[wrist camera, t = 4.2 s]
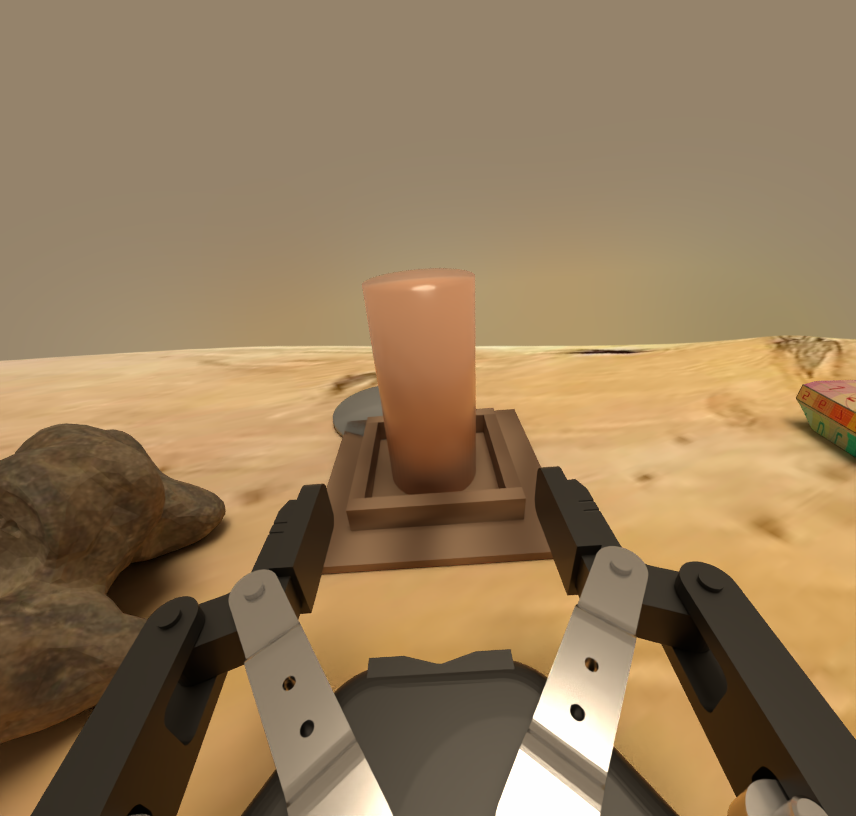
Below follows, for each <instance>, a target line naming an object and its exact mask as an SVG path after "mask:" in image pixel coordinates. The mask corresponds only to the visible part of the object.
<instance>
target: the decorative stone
mask: <svg viewBox="0 0 856 816" xmlns="http://www.w3.org/2000/svg"><path fill="white" fill-rule="evenodd" d="M224 515H225V505H224V502H223V501H222V500H221V499H220V498H219V497H218V496H217V495H215V494H214V493H212V492H210V491H208V490H206V489H203V488H200V487H198V486H195V485H192V484H188V483H185V482H181V481H178V480H174V479H172V478H170V477H168V476H166V475H165V474H163V473H162V472H161V471H160V470H159V469H158V467H157V466H156V465H155V464H154V462H153V461H152V460H151V458H150V457H149V456H148V454H147V453H146V451H145V450H144V448H143V447H142V446H141V444H140V443H139V442H137V441H136V440H135V439H134V438H133V437H132V436H131V435H129V434H127V433H125V432H123V431H118V430H114V429H113V430H103V429H99V428H95V427H91V426H88V425H79V424H59V425H54V426H51V427H48V428H45V429H42V430H40V431H39V432H37V433H36V434H35V435H33V436H32V437H30V438H29V439H28V440H26V441H25V442H24V443H23V444H22V445H21V447H20V448H19V449H18V450H17V451H16V452H15V454H14V455H12V456H9V457H7V458H5V459H3V460H0V744H1V743H3V742H6V741H9V740H12V739H15V738H18V737H22V736H25V735H28V734H32V733H35V732H38V731H41V730H44V729H46V728H48V727H51V726H53V725H55V724H58V723H60V722H62V721H65V720H67V719H69V718H71V717H73V716H75V715H77V714H79V713H80V712H83V711H85V710H87V709H89V708H91V707H93V706H95V705H97V703H98V702H99V700H100V698H101V697H102V695H103V693H104V692H105V690H106V688H107V687H108V685H109V683H110V681H111V680H112V678H113V676H114V675H115V673H116V671H117V670H118V668H119V666H120V665H121V663H122V661H123V660H124V658H125V656H126V655H127V653H128V651H129V650H130V648H131V646H132V645H133V643H134V641H135V639H136V638H137V636H138V634H139V633H140V631H141V629H142V628H143V626H144V624H145V623H146V621H147V619H144V618H140V617H136V616H132V615H128V614H124V613H122V611H121V610H120V609H119V608H118V606H117V605H116V604H115V603H114V602H113V601H112V600H111V599H110V598H109V597H108V596H107V595H106V594H107V592H108V590H109V588H110V586H111V585H112V583H113V582H114V580H115V579H116V577H117V576H118V575H119V573H120V572H121V571H123V570H124V569H125V568H126V567H128V566H129V564H130V563H133V562H140V561H146V560H149V559H152V558H155V557H158V556H161V555H164V554H166V553H169V552H172V551H175V550H177V549H180V548H183V547H186V546H188V545H190V544H192V543H195V542H197V541H199V540H200V539H202V538H204V537H206V536H207V535H208V534H209V533H210V532H211V531H212V530H213V529H214V528H215V527H216V526H217V525H218V524H219V523H220V522H221V520H222V519H223V517H224Z"/></svg>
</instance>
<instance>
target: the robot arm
mask: <svg viewBox="0 0 856 816" xmlns="http://www.w3.org/2000/svg"><path fill="white" fill-rule="evenodd" d="M535 509H536V513H537V516H538V519H539V522H540V524H541V527H542V530H543V532H544V535H545V537H546V540H547V543H548V545H549V548H550V551H551V553H552V556H553V559H554V561H555V564H556V567H557V569H558V572H559V574H560V577H561V580H562V582H563V585H564V588H565V590H566V593H567V595H579V598H580V600H579V602H578V604H577V605H576V606H575V608H574V610H573V613H572V615H571V618H570V621H569V623H568V626H567V629H566V631H565V634H564V637H563V639H562V642H561V645H560V647H559V650H558V653H557V655H556V658H555V661H554V663H553V666H552V668H551V671H550V674H549V676H548V678H547V677H546V676H544V675H543V674H542V673H540V672H539V671H537V670H535V669H533V668H531V667H529V666H527V665H525V664H522V663H519V662H515V661H513V659H512V654H511V649H507V650H491V651H476V652H473V653H470V654H467V655H465V656H462V657H459V658H457V659H454V660H451V661H448V662H446V663H442V664H436V663H431V662H427V661H423V660H419V659H414V658H410V657H406V656H396V657H380V658H369V664H368V670H367V671H364V672H362V673H360V674H358V675H356V676H354V677H353V678H351V679H350V680H348V681H347V682H346V683H344V684H343V685H342V686H341V687H340V688H339V689H338V690H337V691H336V692H335V693H333V691H332V689H331V686H330V684H329V682H328V680H327V678H326V676H325V674H324V672H323V670H322V668H321V666H320V664H319V662H318V659H317V657H316V655H315V653H314V651H313V649H312V647H311V645H310V643H309V641H308V639H307V637H306V635H305V633H304V630H303V628H302V626H301V624H300V623H299V621H298V619H299V616H300V614H306V613H312V609H313V605H314V601H315V597H316V593H317V590H318V586H319V582H320V578H321V574H322V571H323V567H324V563H325V559H326V555H327V552H328V548H329V544H330V540H331V536H332V533H333V528H334V514H333V510H332V506H331V503H330V499H329V496H328V492H327V488H326V486H325V484H313V485H304V486H303V487H302V488H301V491H300V493H299V496H298V498H297V500H289V501H288V502H287V503H286V504H285V505H284V506H283V507H282V508H281V509H280V511H279V512H278V515H277V517H276V519H275V521H274V525H273V526H272V528H271V530H270V532H269V533H270V534H269V535H268V537H267V539H266V541H265V543H264V545H263V548H262V550H261V552H260V554H259V556H258V559H257V561H256V563H255V565H254V567H253V570H252V572H251V573H249V574H247V575H246V576H244V577H243V578H242V579H240V580H239V581H238V582H237V583H236V584H235V586H234V587H233V589H232V590H231V592H230V593H228V594H226V595H223V596H221V597H218V598H215V599H212V600H210V601H207V602H204V603H201V604H198V603H197V601H196V600H195V599H194V598H192V597H188V596H183V597H178V598H175V599H173V600H170V601H169V602H167V603H165V604H163V605H162V606H161V607H159V608H158V609H157V610H156V611H155V612H154V613H153V614H152V615H151V616H150V617H149V618H148V620H147V621H146V623H145V624H144V626H143V628H142V629H141V631H140V633H139V634H138V636H137V638H136V639H135V641H134V643H133V645H132V646H131V648H130V650H129V651H128V653H127V655H126V656H125V658H124V660H123V661H122V663H121V665H120V666H119V668H118V670H117V671H116V673H115V675H114V676H113V678H112V680H111V681H110V683H109V685H108V687H107V688H106V690H105V692H104V693H103V695H102V697H101V698H100V700H99V702H98V703H97V705H96V707H95V708H94V710H93V712H92V713H91V715H90V717H89V718H88V720H87V722H86V724H85V725H84V727H83V729H82V730H81V732H80V734H79V735H78V737H77V739H76V740H75V742H74V744H73V745H72V747H71V749H70V750H69V752H68V754H67V755H66V757H65V759H64V760H63V762H62V764H61V766H60V767H59V769H58V771H57V772H56V774H55V776H54V777H53V779H52V781H51V782H50V784H49V786H48V787H47V789H46V791H45V792H44V794H43V796H42V797H41V799H40V801H39V802H38V804H37V806H36V808H35V809H34V811H33V813H32V814H31V816H176V815H177V813H178V810H179V807H180V804H181V801H182V799H183V796H184V793H185V790H186V787H187V785H188V782H189V779H190V776H191V773H192V771H193V768H194V765H195V762H196V759H197V756H198V754H199V751H200V748H201V745H202V742H203V740H204V737H205V734H206V731H207V728H208V726H209V723H210V720H211V717H212V714H213V712H214V709H215V706H216V703H217V700H218V698H219V695H220V692H221V689H222V686H223V683H224V681H225V678H226V675H227V672H228V671H230V670H232V669H234V668H237V667H239V666H242V665H245V669H246V672H247V675H248V679H249V682H250V685H251V688H252V692H253V695H254V698H255V701H256V705H257V708H258V711H259V714H260V718H261V721H262V724H263V727H264V731H265V734H266V737H267V740H268V743H269V747H270V750H271V753H272V756H273V760H274V763H275V766H276V770H275V771H274V772H273V774H272V775H271V776H270V778H269V779H268V780H267V782H266V783H265V784H264V786H263V787H262V788H261V790H260V791H259V792H258V794H257V795H256V796H255V798H254V799H253V800H252V802H251V803H250V804H249V806H248V807H247V808H246V810H245V811H244V812H243V814H242V815H241V816H679V815H678V814H677V813H676V812H675V811H674V810H673V809H672V808H671V807H670V806H669V805H668V803H667V802H666V801H665V800H664V799H663V798H662V797H661V796H660V795H659V794H658V793H657V792H656V791H655V790H654V789H653V788H652V787H651V785H650V784H649V783H648V782H647V781H646V780H645V779H644V778H643V777H642V776H641V775H640V774H639V773H638V772H637V771H636V770H635V769H634V768H633V766H632V765H631V764H630V763H629V762H628V761H627V760H626V759H625V758H624V757H623V756H622V755H621V754H620V753H619V752H618V751H617V749H616V748H615V747H614V746H613V744H614V740H615V735H616V731H617V726H618V722H619V717H620V712H621V708H622V703H623V699H624V694H625V689H626V685H627V680H628V676H629V671H630V666H631V662H632V657H633V653H634V648H635V643H636V637H638V638H641V639H645V640H649V641H653V642H656V643H660V644H662V646H663V648H664V650H665V652H666V654H667V657H668V659H669V661H670V663H671V665H672V667H673V669H674V671H675V673H676V675H677V677H678V679H679V681H680V683H681V685H682V687H683V689H684V691H685V693H686V695H687V697H688V699H689V701H690V703H691V705H692V707H693V710H694V712H695V714H696V716H697V718H698V720H699V722H700V724H701V726H702V728H703V730H704V732H705V734H706V736H707V738H708V740H709V742H710V744H711V746H712V748H713V750H714V752H715V754H716V756H717V758H718V760H719V763H720V765H721V767H722V769H723V771H724V773H725V775H726V777H727V779H728V781H729V783H730V785H731V787H732V789H733V791H734V793H735V795H736V797H737V798H736V799H734V800H733V801H732V803H731V804H730V806H729V809H728V814H727V816H856V739H855V738H854V737H853V736H852V734H851V733H850V732H849V730H848V729H847V728H846V726H845V725H844V724H843V722H842V721H841V720H840V719H839V717H838V716H837V715H836V713H835V712H834V711H833V709H832V708H831V707H830V705H829V704H828V703H827V702H826V700H825V699H824V698H823V696H822V695H821V694H820V692H819V691H818V690H817V688H816V687H815V686H814V685H813V683H812V682H811V681H810V679H809V678H808V677H807V675H806V674H805V673H804V671H803V670H802V669H801V668H800V666H799V665H798V664H797V662H796V661H795V660H794V658H793V657H792V656H791V654H790V653H789V652H788V651H787V649H786V648H785V647H784V645H783V644H782V643H781V641H780V640H779V639H778V637H777V636H776V635H775V633H774V632H773V631H772V630H771V628H770V627H769V626H768V624H767V623H766V622H765V620H764V619H763V618H762V616H761V615H760V614H759V613H758V611H757V610H756V609H755V607H754V606H753V605H752V603H751V602H750V601H749V599H748V598H747V597H746V596H745V594H744V593H743V592H742V590H741V589H740V588H739V586H738V585H737V584H736V583H735V581H734V580H733V579H732V578H731V577H730V576H729V575H727V574H726V573H725V572H723V571H722V570H720V569H718V568H717V567H715V566H712V565H710V564H707V563H703V562H688V563H685V564H684V565H683V566H682V567H681V568H680V571H679V572H678V571H673V570H668V569H663V568H659V567H654V566H650V565H647V564H645V563H644V562H643V561H642V560H641V559H640V558H639V557H638V556H637V555H636V554H634V553H633V552H631V551H629V550H627V549H625V548H622V547H621V545H620V544H619V542H618V541H617V539H616V537H615V535H614V534H613V532H612V530H611V529H610V527H609V525H608V524H607V522H606V520H605V518H604V517H603V515H602V513H601V512H600V511H599V508H598V507H597V505H596V503H595V502H594V501H593V498H592V496H591V495H590V493H589V491H588V490H587V488H586V487H584V486H583V485H582V484H581V483H579V482H578V481H577V480H576V479H572V480H567V479H566V477H565V475H564V473H563V471H562V469H561V468H560V467H559V466H557V467H543V468H538V470H537V478H536V488H535Z"/></svg>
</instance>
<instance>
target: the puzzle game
mask: <svg viewBox="0 0 856 816" xmlns="http://www.w3.org/2000/svg"><path fill="white" fill-rule="evenodd" d="M796 399H797V401H798V403H799V404H800V406H801V408H802V410H803V412H804V414H805V416H806V418H807V420H808V422H809V424H810V426H811V429H812V430H814V431H815V432H817V433H818V434H820V435H822V436H823V437H825V438H826V439H828V440H829V441H831V442H832V443H834V444H836V445H837V446H839V447H840V448H842V449H843V450H845V451H846V452H848V453H850V454H851V455H853V456H854V457H856V380H838V381H815V382H811V383H807V384H804V385H802V387H801V389H800V391H799V393H798V395H797V397H796Z"/></svg>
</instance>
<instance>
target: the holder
mask: <svg viewBox="0 0 856 816" xmlns="http://www.w3.org/2000/svg"><path fill="white" fill-rule="evenodd" d="M362 421H364V422H366V421H367V422H366V424H365V423H364V422H362ZM355 422H358V421H355ZM355 422H353V424H356V423H355ZM361 422H362V423H364V424H363V426H362V425H360V426H362V427H364V425H365V431H364V430H362V431H364V435H363V436H362V435H359V434H353V433H350V431H349V433H348V432H347V434H346V431H345V432H344V433H345V434H344V435H343V438H342V441H341V444H340V448H339V451H338V454H337V457H336V460H335V463H334V467H333V470H332V473H331V476H330V479H329V482H328V485H327V492H328V496H329V499H330V503H331V506H332V510H333V514H334V528H333V533H332V536H331V540H330V544H329V548H328V552H327V555H326V559H325V563H324V567H323V571H322V574H329V573H344V572H359V571H374V570H389V569H404V568H419V567H434V566H449V565H464V564H479V563H494V562H509V561H524V560H539V559H553V556H552V553H551V551H550V548H549V545H548V543H547V540H546V537H545V535H544V532H543V530H542V527H541V524H540V522H539V519H538V516H537V513H536V509H535V488H536V478H537V470H538V468H541V466H540V464H539V462H538V460H537V458H536V456H535V453H534V451H533V449H532V447H531V445H530V442H529V440H528V438H527V436H526V434H525V432H524V429H523V427H522V425H521V423H520V421H519V419H518V416H517V414H516V412H515V410H514V409H511V410H497V411H494V409H493V408H485V409H476V474H475V477H474V479H473V481H472V482H471V484H470V485H469V486H468V487H467V488H466V489H464V490H463V491H458V492H443V493H429V494H415V495H408V494H406V493H404V492H403V491H402V490H400V489H399V488H398V487H397V486H396V484H395V482H394V480H393V476H392V470H391V464H390V457H389V451H388V445H387V440H383V439H386V432H385V426H384V420H383V416H375V417H368V418H367V420H361ZM361 422H359V424H360V423H361ZM349 423H350V421H349ZM349 423H348V424H349ZM351 423H352V422H351ZM362 423H361V424H362ZM353 424H350V425H353ZM359 424H358V425H357V424H356V425H357V426H358V427H359ZM347 426H348V425H347ZM354 427H355V426H354ZM346 428H347V427H346ZM350 429H351V428H350ZM359 429H360V428H359ZM359 429H358V430H359ZM362 429H363V428H362Z"/></svg>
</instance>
